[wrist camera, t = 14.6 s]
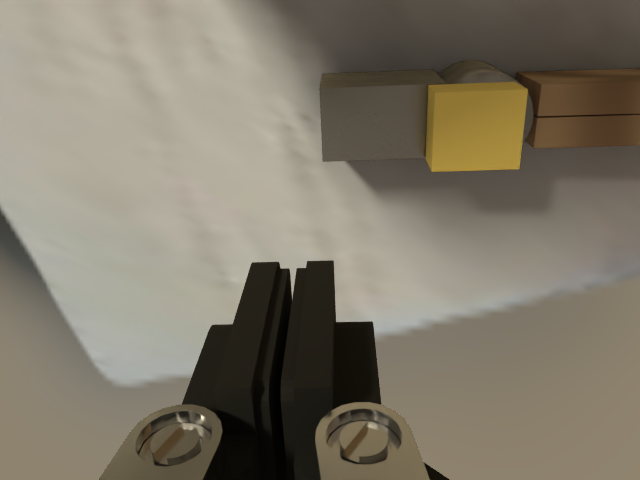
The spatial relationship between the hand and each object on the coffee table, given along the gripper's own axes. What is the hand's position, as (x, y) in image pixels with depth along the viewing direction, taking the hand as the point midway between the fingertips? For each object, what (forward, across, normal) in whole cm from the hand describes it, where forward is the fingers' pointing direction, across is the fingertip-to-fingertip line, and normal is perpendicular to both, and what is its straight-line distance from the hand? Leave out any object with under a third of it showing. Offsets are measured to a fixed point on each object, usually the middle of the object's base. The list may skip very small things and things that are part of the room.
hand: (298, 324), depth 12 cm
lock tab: (+17, -7, 0) cm, 19 cm away
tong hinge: (+22, -5, 0) cm, 23 cm away
